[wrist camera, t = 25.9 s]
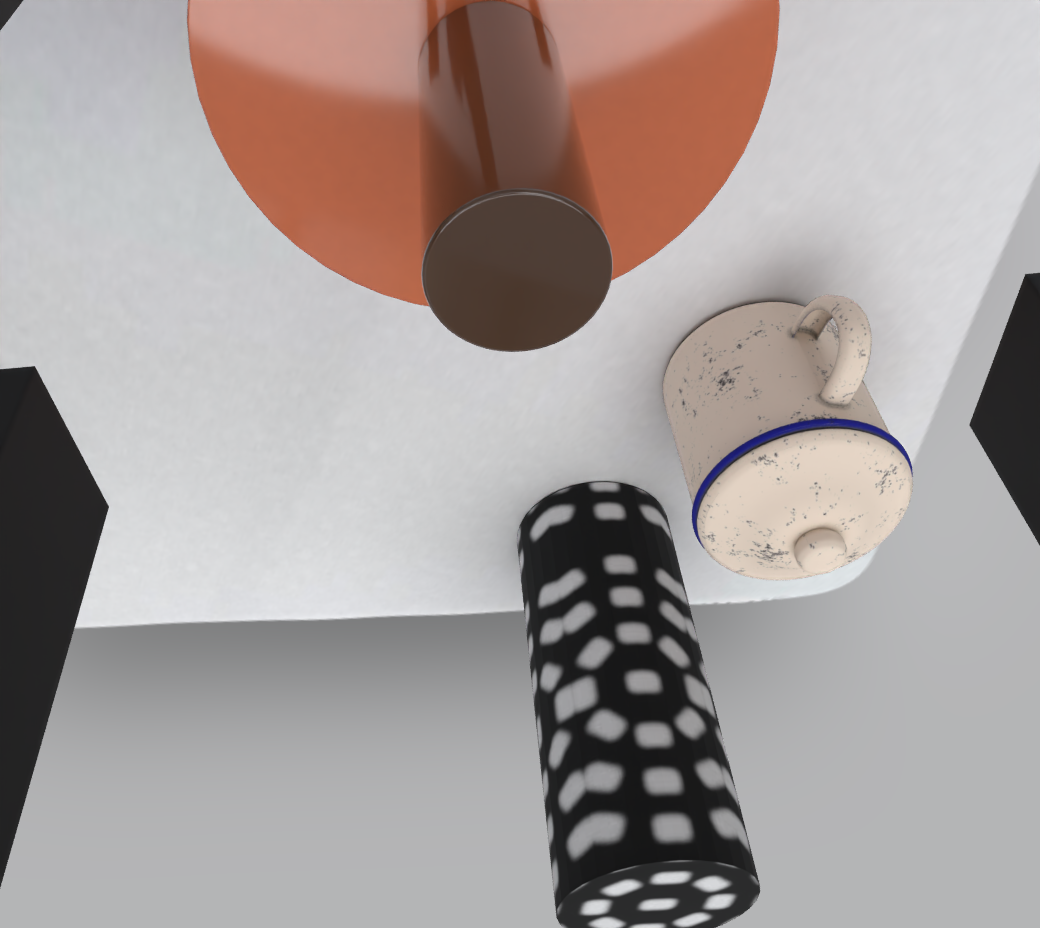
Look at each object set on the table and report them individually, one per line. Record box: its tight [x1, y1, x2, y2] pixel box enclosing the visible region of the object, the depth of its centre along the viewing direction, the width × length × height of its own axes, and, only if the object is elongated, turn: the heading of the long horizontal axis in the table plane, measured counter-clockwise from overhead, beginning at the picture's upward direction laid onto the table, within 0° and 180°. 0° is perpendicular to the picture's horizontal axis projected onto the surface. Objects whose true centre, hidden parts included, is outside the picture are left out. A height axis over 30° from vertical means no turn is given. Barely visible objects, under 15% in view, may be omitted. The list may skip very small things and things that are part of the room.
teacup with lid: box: [663, 295, 913, 580], centre depth 42 cm, size 12×9×12 cm
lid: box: [187, 0, 780, 352], centre depth 20 cm, size 13×13×9 cm
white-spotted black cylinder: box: [517, 482, 760, 928], centre depth 47 cm, size 8×8×20 cm
